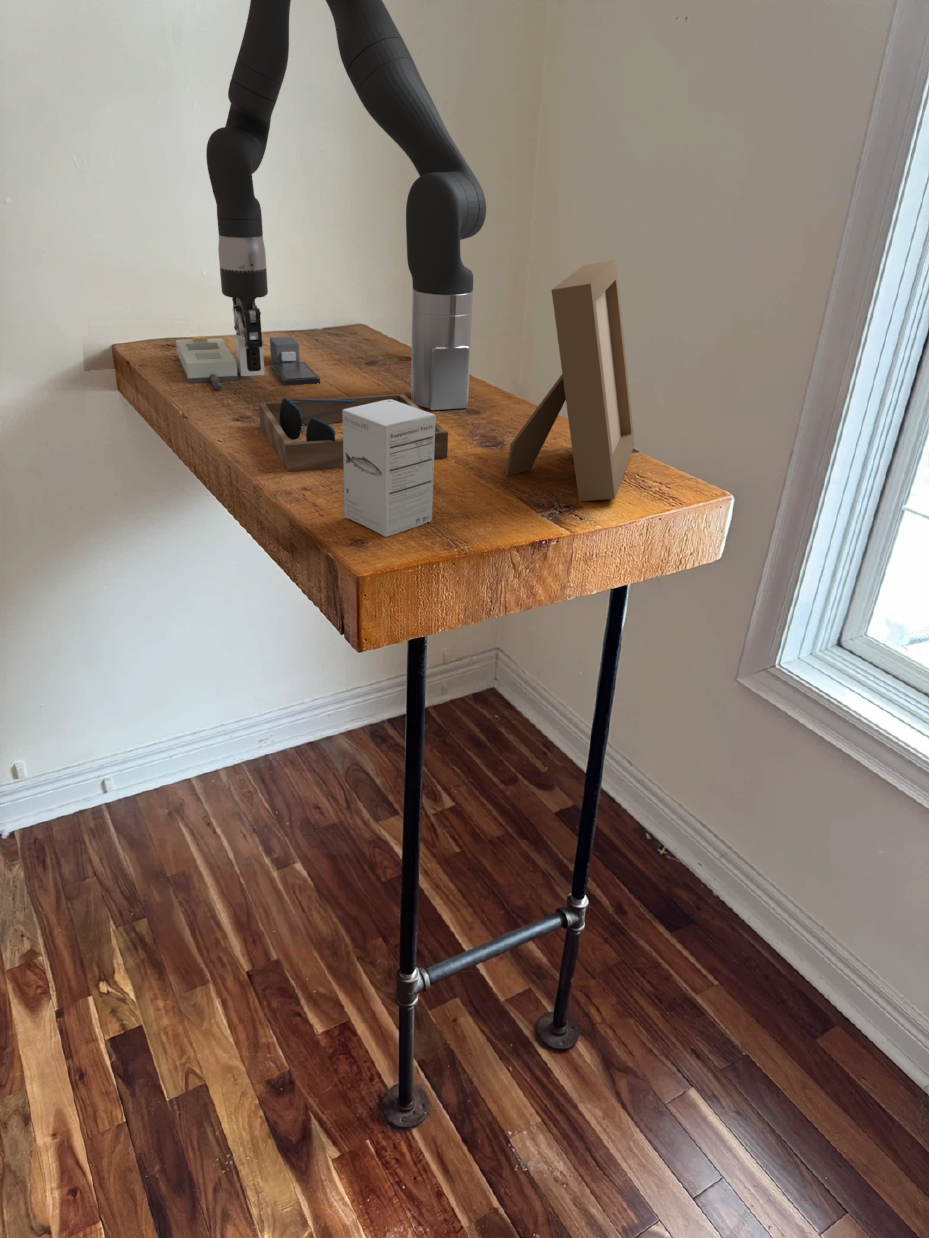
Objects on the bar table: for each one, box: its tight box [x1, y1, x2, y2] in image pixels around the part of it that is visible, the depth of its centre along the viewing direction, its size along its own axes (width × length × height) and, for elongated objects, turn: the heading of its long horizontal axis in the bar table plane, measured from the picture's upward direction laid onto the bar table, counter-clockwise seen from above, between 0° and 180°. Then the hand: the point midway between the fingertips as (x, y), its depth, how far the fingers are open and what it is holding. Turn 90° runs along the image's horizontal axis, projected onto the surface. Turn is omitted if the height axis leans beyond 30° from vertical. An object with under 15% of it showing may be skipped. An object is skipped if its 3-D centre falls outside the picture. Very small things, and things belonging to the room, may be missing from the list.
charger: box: [234, 334, 265, 377], centre depth 153 cm, size 4×4×6 cm
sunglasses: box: [280, 397, 356, 442], centre depth 123 cm, size 17×15×5 cm
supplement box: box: [342, 399, 437, 538], centre depth 97 cm, size 7×7×13 cm
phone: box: [270, 361, 321, 387], centre depth 154 cm, size 12×6×1 cm, turn 21°
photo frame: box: [504, 259, 635, 502], centre depth 111 cm, size 15×22×25 cm
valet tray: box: [258, 393, 449, 473], centre depth 123 cm, size 20×22×4 cm
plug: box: [269, 336, 301, 363], centre depth 160 cm, size 7×4×4 cm, turn 22°
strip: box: [175, 335, 239, 391], centre depth 152 cm, size 24×8×4 cm, turn 21°
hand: (250, 364), depth 154 cm, fingers open, 8 cm apart
